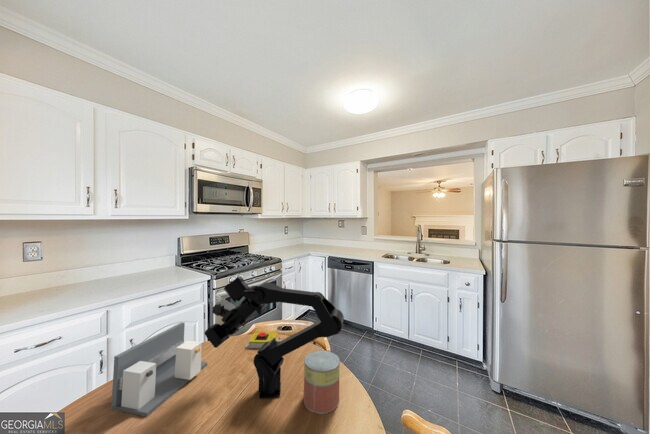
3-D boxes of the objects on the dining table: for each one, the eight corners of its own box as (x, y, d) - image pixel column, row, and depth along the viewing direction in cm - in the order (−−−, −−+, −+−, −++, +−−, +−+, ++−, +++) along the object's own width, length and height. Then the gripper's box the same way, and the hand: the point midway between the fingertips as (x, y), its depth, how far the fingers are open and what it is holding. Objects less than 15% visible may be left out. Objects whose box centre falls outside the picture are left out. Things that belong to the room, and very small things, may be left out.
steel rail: (183, 348, 89) (184, 340, 89) (121, 390, 66) (121, 379, 66) (181, 348, 89) (181, 340, 89) (118, 389, 66) (119, 379, 66)
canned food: (335, 385, 78) (335, 349, 78) (343, 411, 67) (344, 369, 67) (302, 388, 76) (302, 351, 76) (305, 416, 65) (305, 372, 65)
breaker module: (202, 371, 82) (203, 342, 82) (192, 380, 77) (193, 349, 77) (186, 368, 83) (187, 340, 84) (174, 377, 78) (176, 347, 79)
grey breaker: (156, 397, 69) (158, 363, 70) (140, 410, 65) (142, 373, 65) (138, 393, 71) (140, 360, 71) (121, 406, 66) (123, 370, 66)
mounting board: (207, 364, 88) (208, 325, 88) (147, 416, 63) (149, 361, 64) (179, 361, 90) (181, 322, 90) (111, 409, 66) (114, 356, 66)
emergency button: (251, 329, 110) (282, 330, 110) (251, 338, 110) (282, 339, 110) (245, 339, 100) (278, 339, 101) (244, 349, 100) (278, 349, 101)
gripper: (243, 286, 88) (216, 313, 89) (211, 302, 70) (178, 335, 71) (262, 309, 86) (234, 335, 88) (233, 330, 68) (199, 364, 69)
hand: (213, 341), depth 79 cm, fingers closed
